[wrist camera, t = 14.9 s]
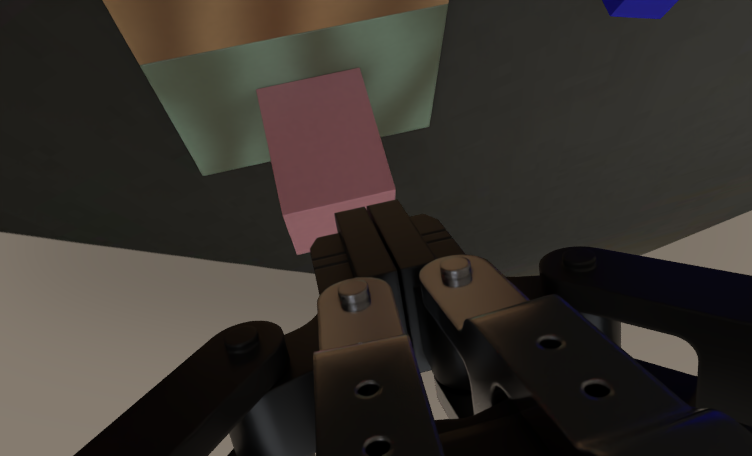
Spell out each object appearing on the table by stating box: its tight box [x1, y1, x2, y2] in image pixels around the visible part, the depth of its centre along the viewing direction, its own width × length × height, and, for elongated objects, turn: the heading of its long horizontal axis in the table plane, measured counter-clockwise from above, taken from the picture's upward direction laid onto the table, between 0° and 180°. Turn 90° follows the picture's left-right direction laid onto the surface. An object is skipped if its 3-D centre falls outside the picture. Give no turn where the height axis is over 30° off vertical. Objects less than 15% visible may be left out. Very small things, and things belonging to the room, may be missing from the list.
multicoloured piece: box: [103, 0, 449, 176], centre depth 31 cm, size 16×24×1 cm, turn 2°
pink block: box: [256, 68, 396, 255], centre depth 36 cm, size 6×6×8 cm
